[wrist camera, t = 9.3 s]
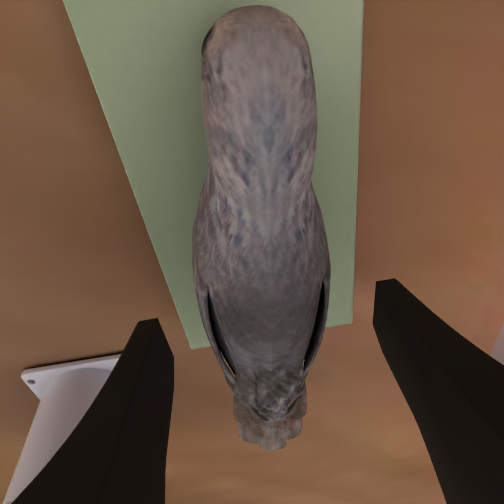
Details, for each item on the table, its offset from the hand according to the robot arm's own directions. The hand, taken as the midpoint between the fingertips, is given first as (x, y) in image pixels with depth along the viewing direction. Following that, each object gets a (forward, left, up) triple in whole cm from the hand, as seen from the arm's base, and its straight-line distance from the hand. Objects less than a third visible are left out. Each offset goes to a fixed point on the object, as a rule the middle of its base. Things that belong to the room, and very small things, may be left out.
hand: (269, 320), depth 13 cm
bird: (+1, 0, -7) cm, 7 cm away
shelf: (0, 0, -10) cm, 10 cm away
